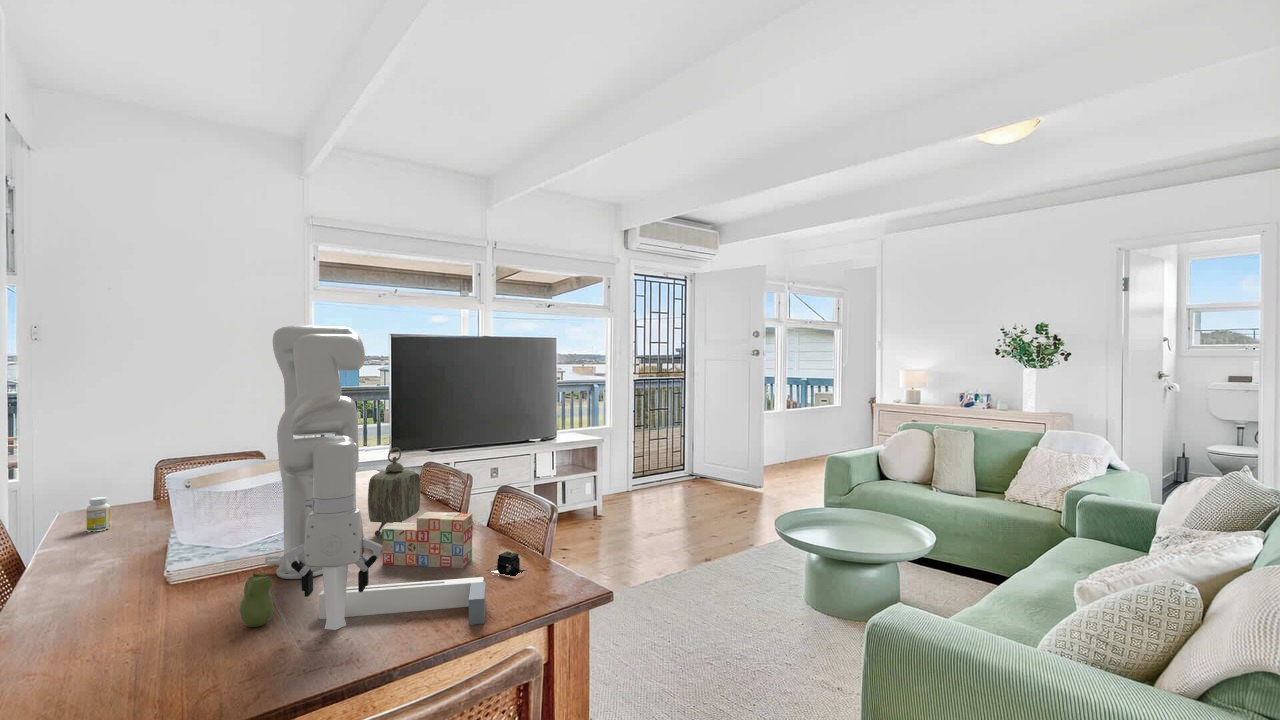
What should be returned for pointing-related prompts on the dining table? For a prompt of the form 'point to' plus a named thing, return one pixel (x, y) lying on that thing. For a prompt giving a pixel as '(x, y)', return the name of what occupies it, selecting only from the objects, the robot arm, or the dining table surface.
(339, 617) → the white faceted vase
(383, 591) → the guide fence
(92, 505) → the supplement bottle
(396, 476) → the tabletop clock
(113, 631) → the dining table surface
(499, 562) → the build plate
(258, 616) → the pear
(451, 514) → the stack of blocks
